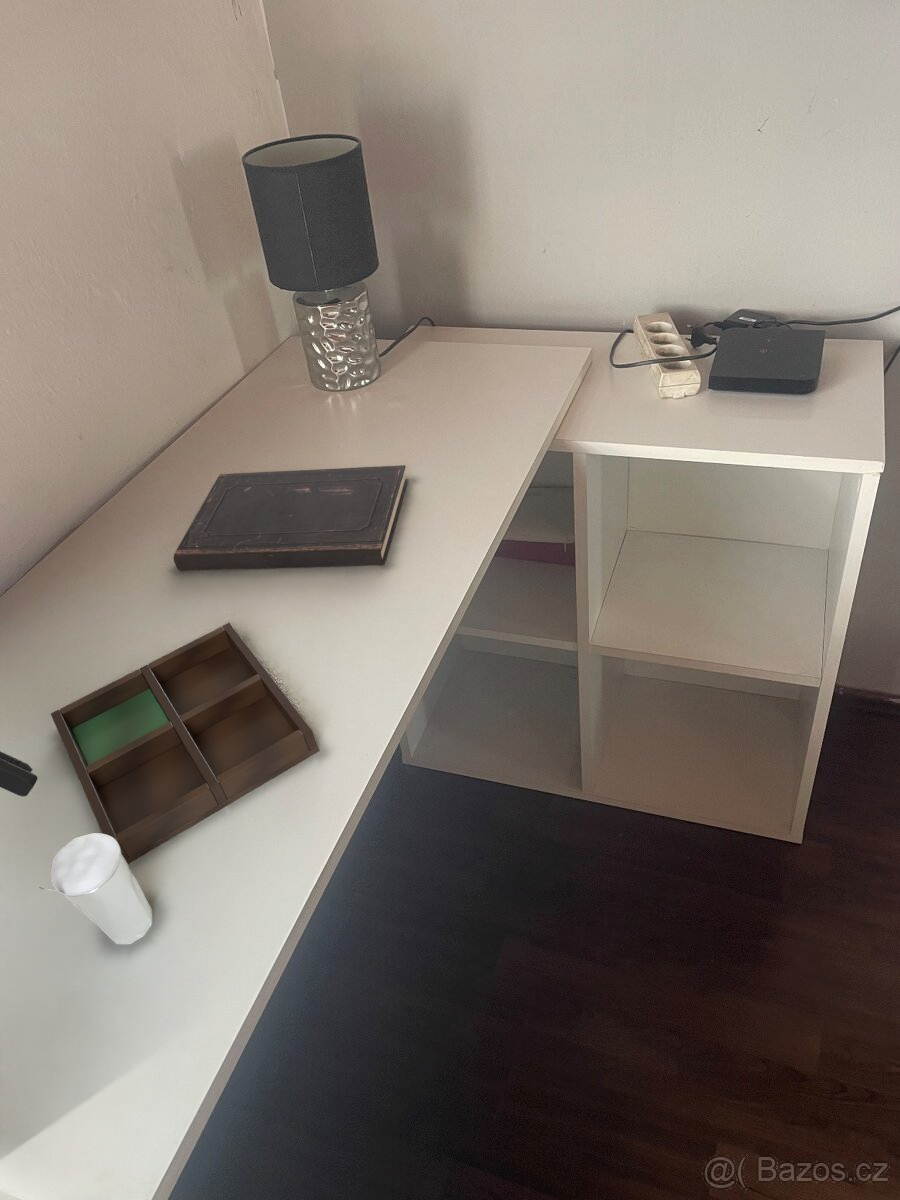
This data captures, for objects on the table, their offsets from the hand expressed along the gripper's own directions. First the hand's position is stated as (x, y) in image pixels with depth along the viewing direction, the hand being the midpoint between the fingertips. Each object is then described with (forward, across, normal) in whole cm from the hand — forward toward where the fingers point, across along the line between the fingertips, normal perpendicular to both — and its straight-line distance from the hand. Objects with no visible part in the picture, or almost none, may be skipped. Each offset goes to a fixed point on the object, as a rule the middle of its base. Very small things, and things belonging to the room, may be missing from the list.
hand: (1, 841), depth 56 cm
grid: (+10, +17, +6) cm, 21 cm away
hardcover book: (+12, +48, +4) cm, 50 cm away
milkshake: (+11, 0, +5) cm, 12 cm away
